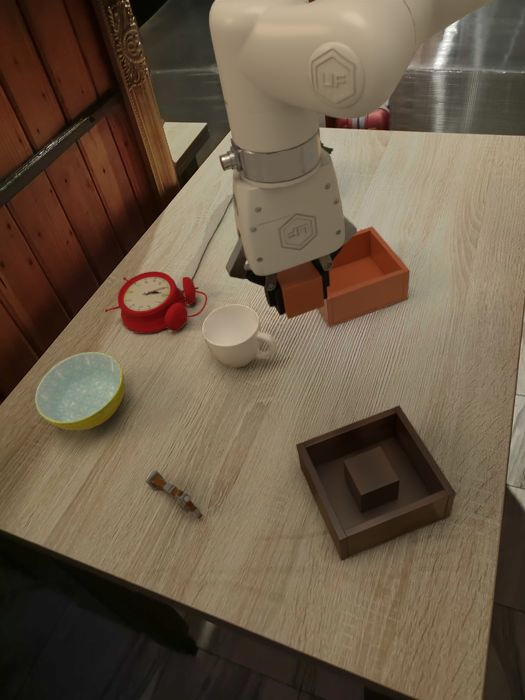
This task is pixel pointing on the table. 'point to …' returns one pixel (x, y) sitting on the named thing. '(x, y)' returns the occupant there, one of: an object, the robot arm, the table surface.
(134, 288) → the alarm clock
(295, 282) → the terracotta block
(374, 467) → the walnut block
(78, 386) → the bowl
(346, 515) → the walnut bin
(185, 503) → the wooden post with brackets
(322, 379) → the table surface
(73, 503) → the table surface
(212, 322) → the cup
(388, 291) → the terracotta bin
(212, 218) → the butter knife
